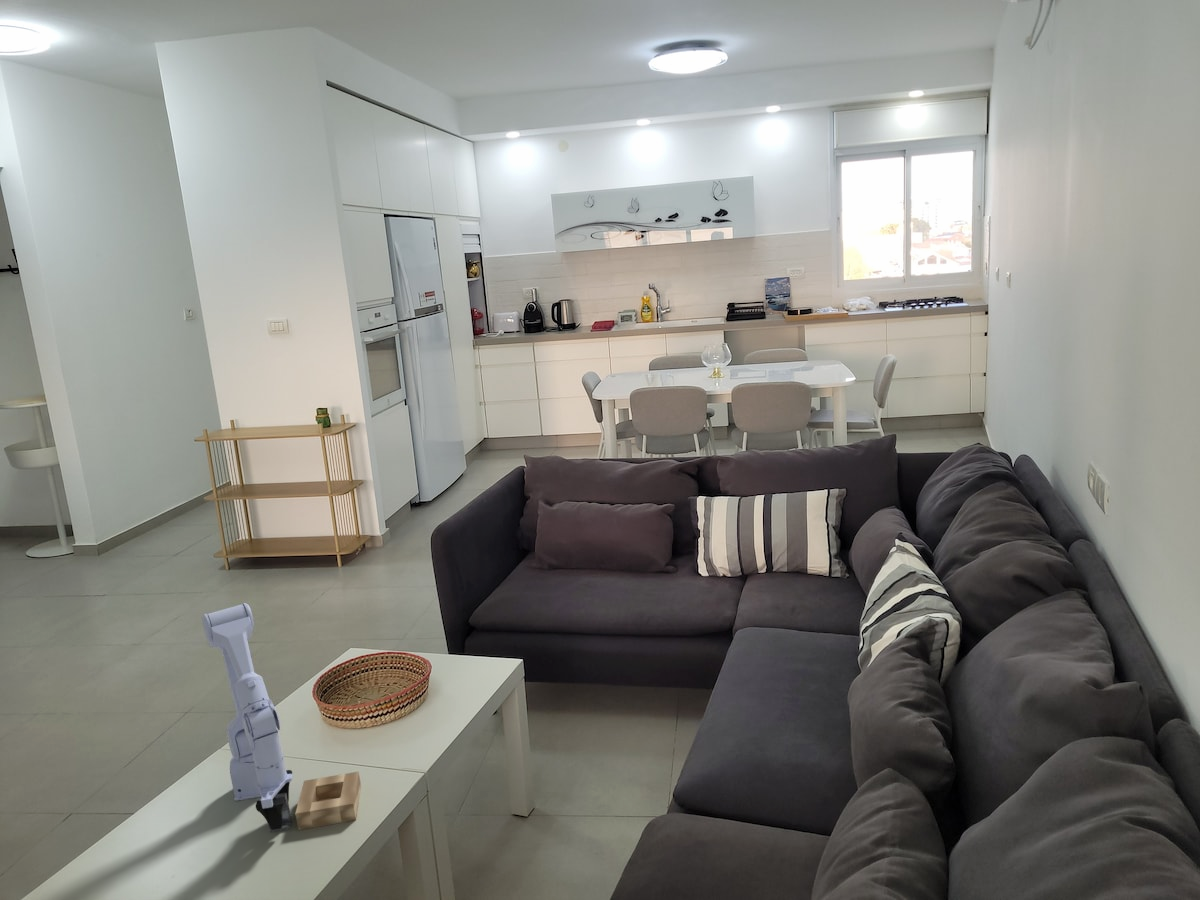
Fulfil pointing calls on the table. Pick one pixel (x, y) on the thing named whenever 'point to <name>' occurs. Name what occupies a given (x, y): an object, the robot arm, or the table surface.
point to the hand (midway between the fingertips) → (280, 816)
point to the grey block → (284, 813)
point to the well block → (328, 800)
